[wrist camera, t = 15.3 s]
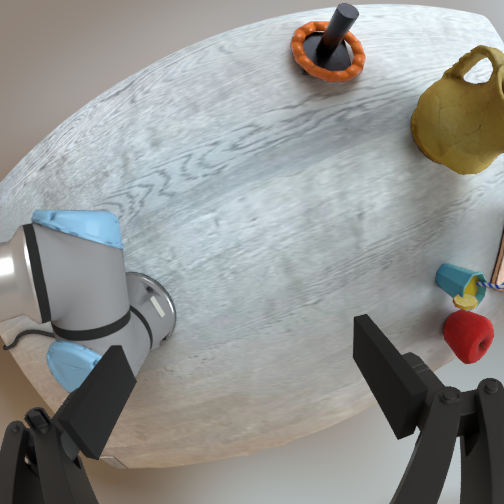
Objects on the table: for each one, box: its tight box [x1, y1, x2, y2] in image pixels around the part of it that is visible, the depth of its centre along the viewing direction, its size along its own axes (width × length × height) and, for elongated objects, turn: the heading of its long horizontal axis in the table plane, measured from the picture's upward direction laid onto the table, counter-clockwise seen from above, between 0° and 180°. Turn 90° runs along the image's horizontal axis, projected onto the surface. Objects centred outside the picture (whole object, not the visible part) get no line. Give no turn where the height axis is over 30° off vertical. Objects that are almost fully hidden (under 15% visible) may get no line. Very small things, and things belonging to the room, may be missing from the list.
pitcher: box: [411, 45, 504, 175], centre depth 29 cm, size 17×19×25 cm
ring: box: [290, 22, 366, 82], centre depth 36 cm, size 13×13×2 cm
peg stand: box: [294, 3, 359, 75], centre depth 31 cm, size 9×9×15 cm
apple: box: [443, 309, 494, 364], centre depth 44 cm, size 11×10×14 cm
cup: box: [436, 264, 504, 311], centre depth 40 cm, size 14×8×15 cm, turn 117°
